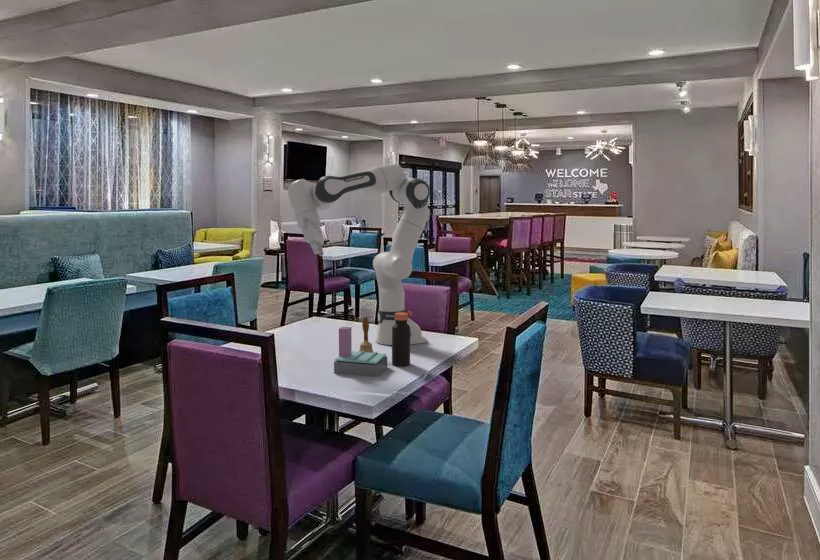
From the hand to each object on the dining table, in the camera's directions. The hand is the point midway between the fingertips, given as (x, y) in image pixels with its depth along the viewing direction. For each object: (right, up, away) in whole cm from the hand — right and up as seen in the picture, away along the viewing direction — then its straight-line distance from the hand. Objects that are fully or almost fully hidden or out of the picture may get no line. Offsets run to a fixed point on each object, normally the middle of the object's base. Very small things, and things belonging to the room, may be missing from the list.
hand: (319, 254), depth 224 cm
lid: (+17, -38, -17) cm, 45 cm away
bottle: (+32, -42, -8) cm, 53 cm away
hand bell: (+18, -40, +5) cm, 44 cm away
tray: (+18, -43, -16) cm, 49 cm away
